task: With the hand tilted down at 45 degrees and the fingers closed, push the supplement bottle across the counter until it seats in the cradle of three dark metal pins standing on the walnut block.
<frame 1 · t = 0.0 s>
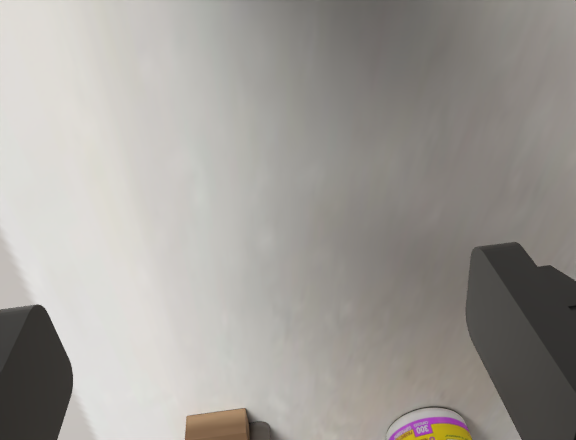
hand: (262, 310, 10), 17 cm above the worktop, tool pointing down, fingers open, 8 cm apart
supplement bottle: (422, 426, 45), on the worktop
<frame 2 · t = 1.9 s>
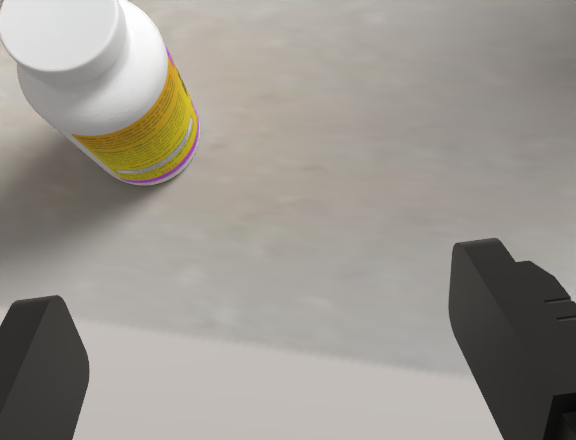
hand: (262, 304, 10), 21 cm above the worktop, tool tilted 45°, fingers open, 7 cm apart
supplement bottle: (149, 137, 34), on the worktop
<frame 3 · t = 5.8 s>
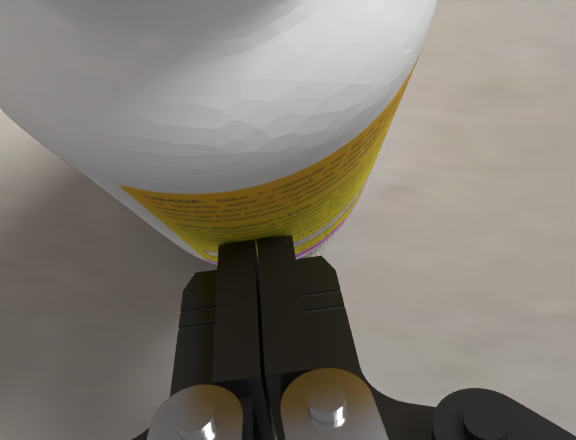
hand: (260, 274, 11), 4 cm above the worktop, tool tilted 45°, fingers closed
supplement bottle: (252, 163, 16), on the worktop, touching gripper
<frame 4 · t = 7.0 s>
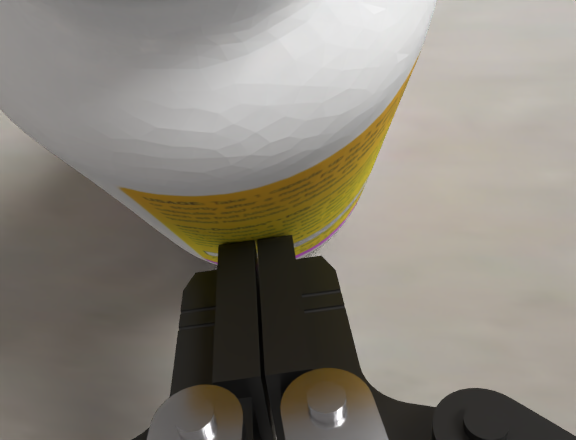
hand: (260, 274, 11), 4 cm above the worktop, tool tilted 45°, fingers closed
supplement bottle: (253, 164, 17), on the worktop, touching gripper
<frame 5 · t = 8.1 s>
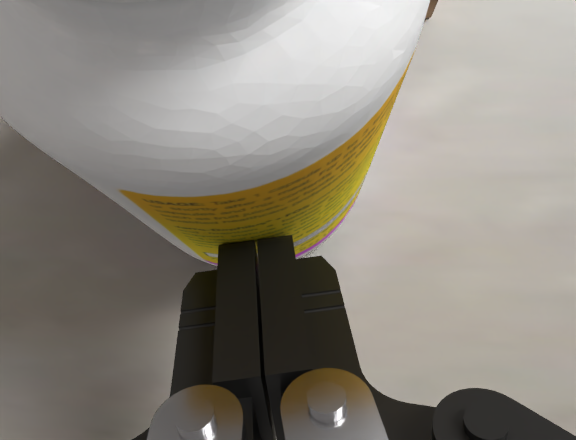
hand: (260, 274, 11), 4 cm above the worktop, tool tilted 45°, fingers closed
supplement bottle: (251, 164, 17), on the worktop, touching gripper
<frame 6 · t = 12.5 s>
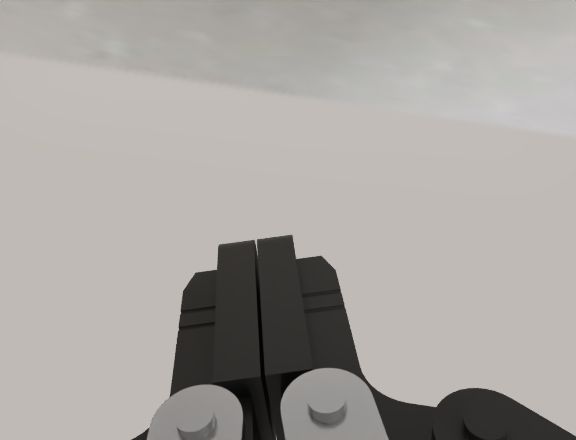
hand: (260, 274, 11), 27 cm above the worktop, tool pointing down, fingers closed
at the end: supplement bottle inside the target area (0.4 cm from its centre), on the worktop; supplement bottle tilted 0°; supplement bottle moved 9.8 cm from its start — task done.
